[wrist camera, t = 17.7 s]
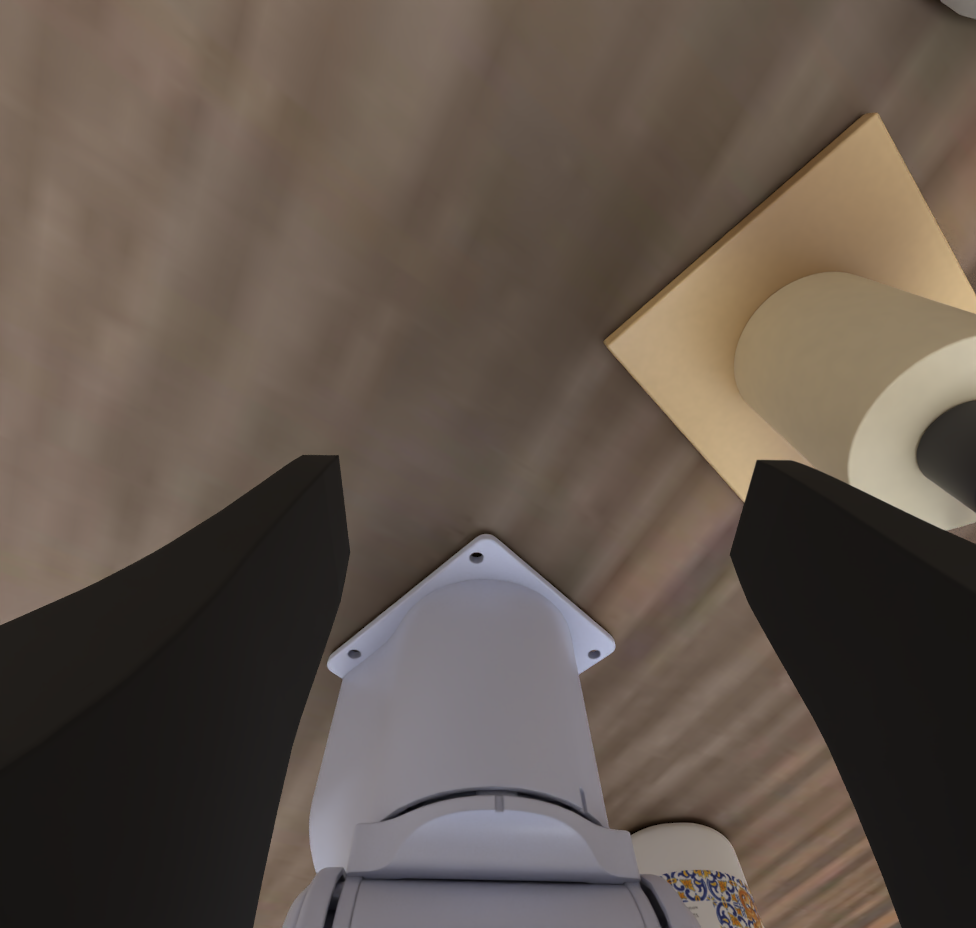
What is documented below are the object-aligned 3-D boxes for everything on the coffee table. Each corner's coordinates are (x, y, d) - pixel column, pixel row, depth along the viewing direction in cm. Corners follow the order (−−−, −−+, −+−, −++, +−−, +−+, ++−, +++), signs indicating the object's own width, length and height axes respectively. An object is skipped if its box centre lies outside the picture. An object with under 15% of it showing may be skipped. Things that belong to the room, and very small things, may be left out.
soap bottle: (720, 306, 17) (895, 416, 10) (887, 246, 17) (1202, 318, 9) (748, 453, 20) (905, 626, 13) (895, 405, 19) (1150, 560, 12)
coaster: (752, 511, 22) (759, 520, 21) (602, 341, 18) (605, 346, 18) (993, 347, 19) (1008, 352, 18) (864, 112, 16) (878, 111, 15)
